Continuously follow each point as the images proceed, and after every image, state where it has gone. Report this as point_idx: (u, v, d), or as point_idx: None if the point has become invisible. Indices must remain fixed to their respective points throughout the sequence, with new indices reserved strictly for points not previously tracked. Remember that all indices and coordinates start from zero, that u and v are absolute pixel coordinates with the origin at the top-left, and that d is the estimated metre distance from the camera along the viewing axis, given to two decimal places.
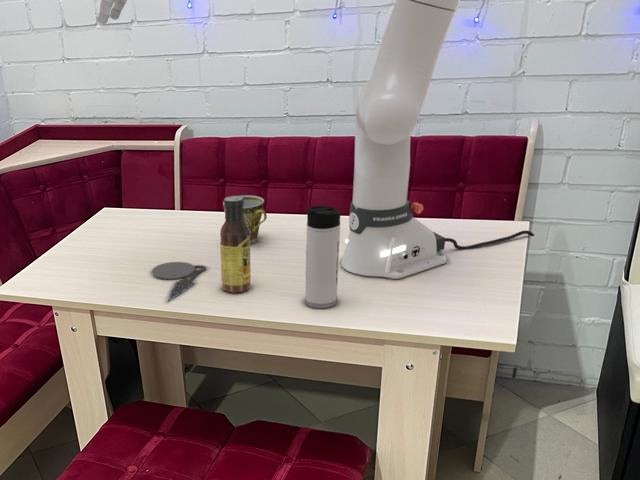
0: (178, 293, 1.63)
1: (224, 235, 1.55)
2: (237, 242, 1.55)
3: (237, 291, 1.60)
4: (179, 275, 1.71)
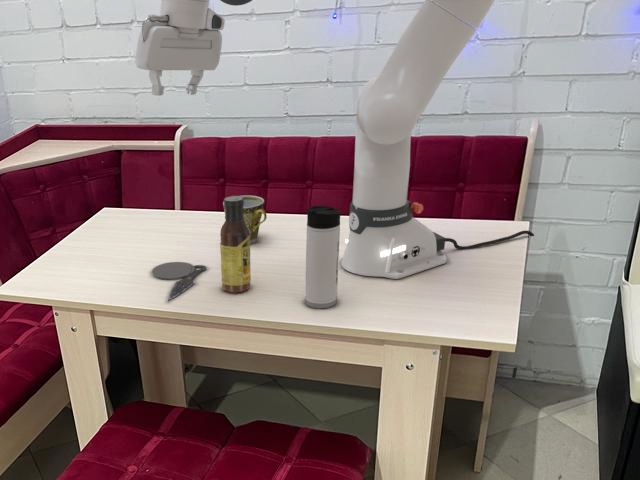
0: (178, 293, 1.63)
1: (224, 235, 1.55)
2: (237, 242, 1.55)
3: (237, 291, 1.60)
4: (179, 275, 1.71)
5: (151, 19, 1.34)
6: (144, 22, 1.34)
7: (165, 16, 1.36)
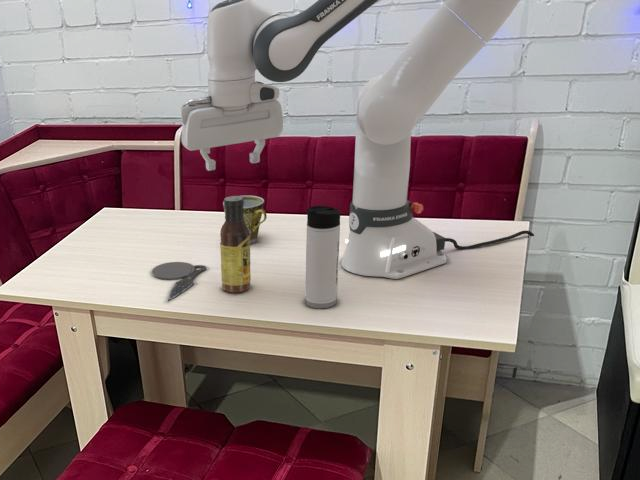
0: (178, 293, 1.63)
1: (224, 235, 1.55)
2: (237, 242, 1.55)
3: (237, 291, 1.60)
4: (179, 275, 1.71)
5: (189, 104, 1.41)
6: (182, 108, 1.41)
7: (207, 98, 1.41)
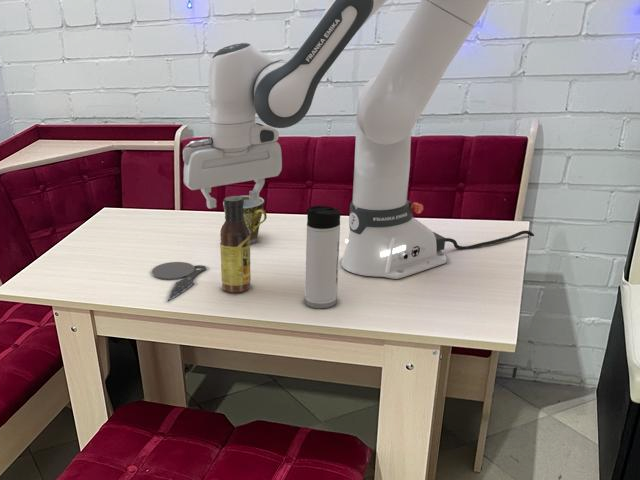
0: (178, 293, 1.63)
1: (224, 235, 1.55)
2: (237, 242, 1.55)
3: (237, 291, 1.60)
4: (179, 275, 1.71)
5: (191, 145, 1.45)
6: (184, 149, 1.45)
7: (208, 139, 1.45)
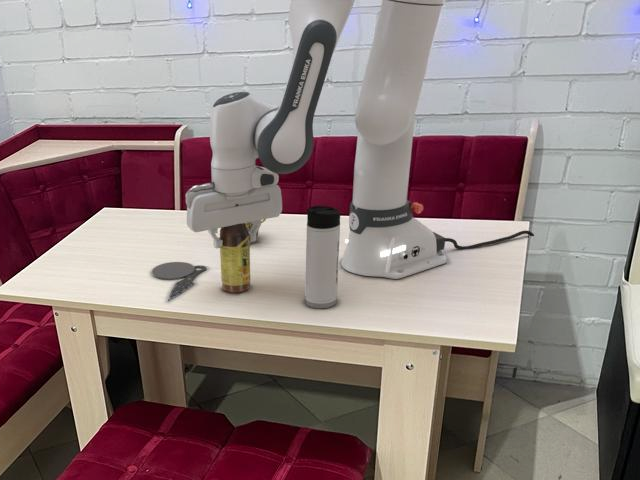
0: (178, 293, 1.63)
1: (224, 235, 1.55)
2: (236, 242, 1.55)
3: (237, 291, 1.60)
4: (179, 275, 1.71)
5: (194, 190, 1.49)
6: (186, 194, 1.49)
7: (210, 184, 1.49)
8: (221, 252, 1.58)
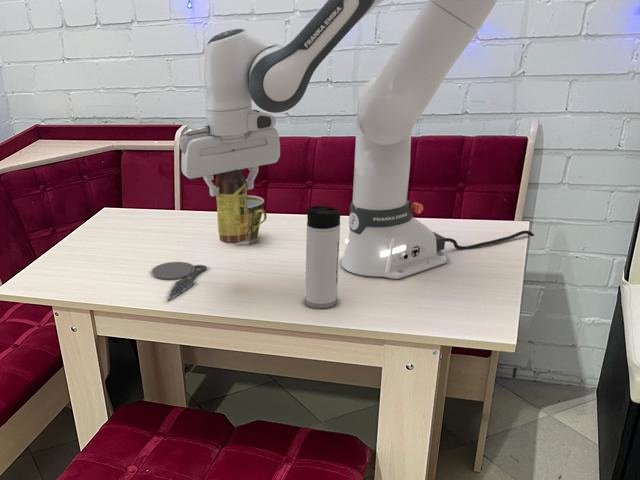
0: (178, 292, 1.63)
1: (220, 182, 1.50)
2: (233, 190, 1.49)
3: (235, 242, 1.55)
4: (179, 275, 1.71)
5: (188, 134, 1.44)
6: (181, 138, 1.44)
7: (205, 127, 1.44)
8: (217, 201, 1.52)
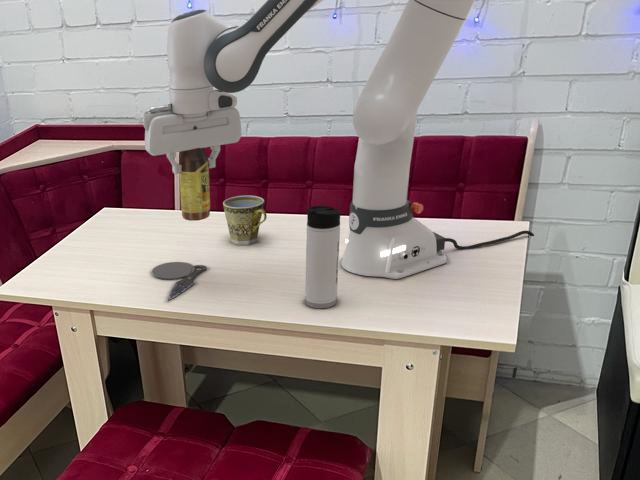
0: (178, 293, 1.63)
1: (182, 160, 1.54)
2: (195, 167, 1.53)
3: (196, 219, 1.59)
4: (179, 275, 1.71)
5: (151, 111, 1.48)
6: (144, 115, 1.48)
7: (168, 105, 1.48)
8: (180, 178, 1.56)
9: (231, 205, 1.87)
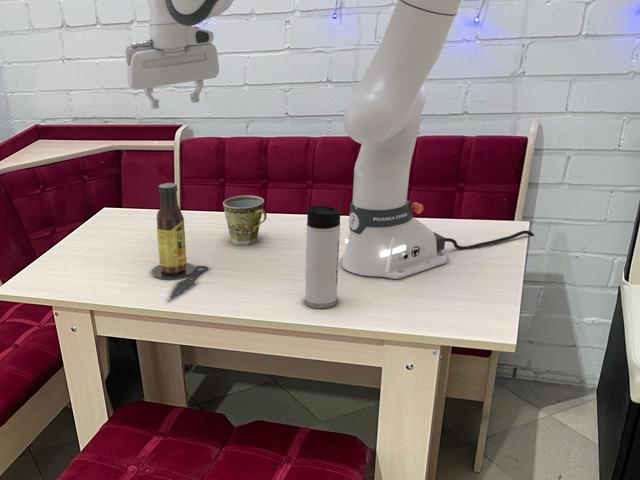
0: (179, 293, 1.63)
1: (159, 219, 1.67)
2: (171, 226, 1.66)
3: (173, 272, 1.71)
4: (179, 275, 1.71)
5: (132, 46, 1.57)
6: (126, 50, 1.57)
7: (148, 41, 1.57)
8: (158, 235, 1.69)
9: (231, 205, 1.87)
